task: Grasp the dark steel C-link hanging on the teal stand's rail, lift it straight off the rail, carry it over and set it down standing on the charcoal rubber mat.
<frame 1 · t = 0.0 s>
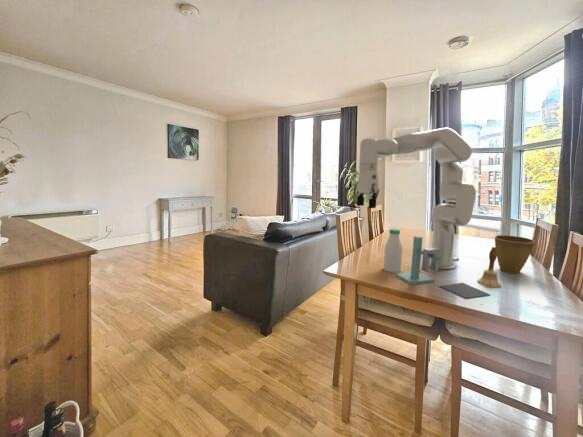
hand: (366, 206, 123), 31 cm above the table, tool pointing down, fingers open, 9 cm apart
link: (429, 270, 113), point 7 cm above the table, touching stand
stand: (414, 278, 122), on the table
hand bell: (489, 284, 117), on the table
mat: (464, 290, 109), on the table
plant pot: (509, 271, 134), on the table
milk bottle: (391, 270, 132), on the table
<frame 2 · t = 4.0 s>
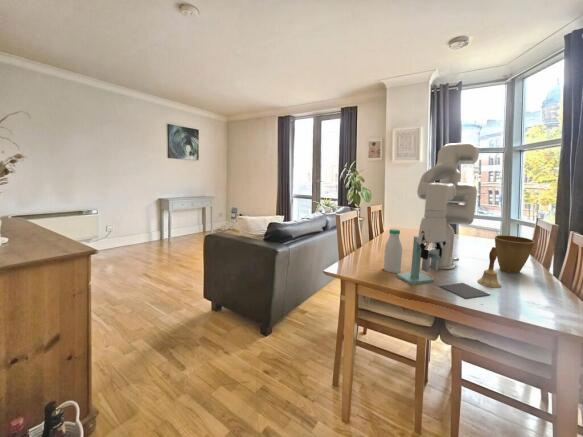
hand: (430, 257, 112), 12 cm above the table, tool pointing down, fingers closed on link, 6 cm apart
link: (429, 270, 113), point 7 cm above the table, touching gripper, stand
everything else where it was.
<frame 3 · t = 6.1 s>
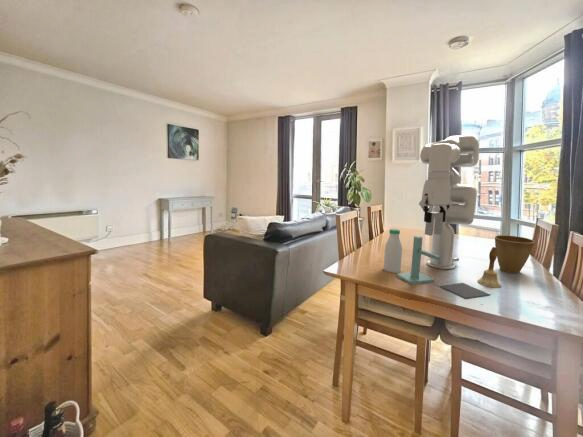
hand: (434, 221, 110), 27 cm above the table, tool pointing down, fingers closed on link, 6 cm apart
link: (433, 234, 111), point 22 cm above the table, touching gripper
everything else where it was.
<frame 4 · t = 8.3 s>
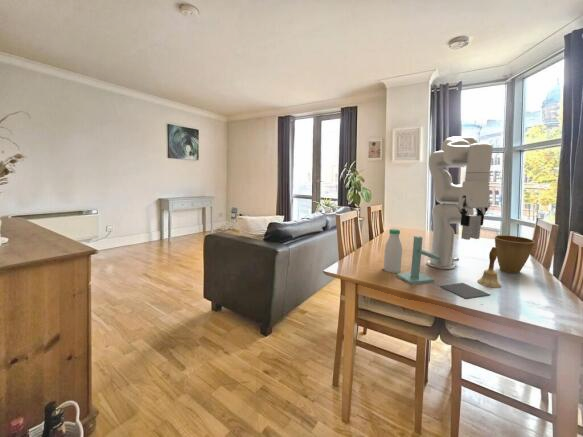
hand: (471, 224, 105), 27 cm above the table, tool pointing down, fingers closed on link, 6 cm apart
link: (470, 238, 106), point 21 cm above the table, touching gripper
everything else where it was.
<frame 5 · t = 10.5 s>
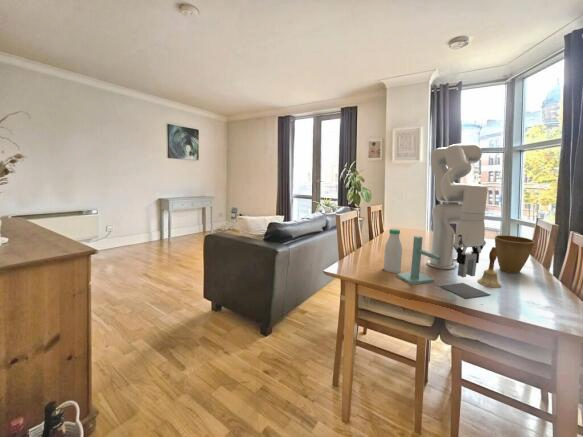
hand: (467, 262, 107), 12 cm above the table, tool pointing down, fingers closed on link, 6 cm apart
link: (466, 275, 108), point 6 cm above the table, touching gripper
everything else where it was.
when the fingers open (7 cm above the table, at t = 12.5 s): link drops 1 cm, resting on mat.
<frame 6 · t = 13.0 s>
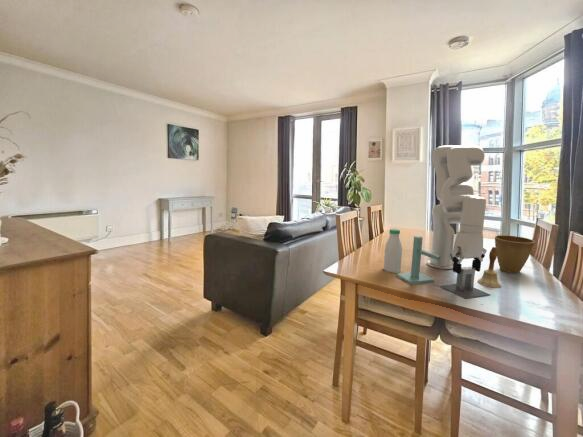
hand: (466, 271, 108), 8 cm above the table, tool pointing down, fingers open, 9 cm apart
link: (464, 289, 109), resting on mat
everything else where it was.
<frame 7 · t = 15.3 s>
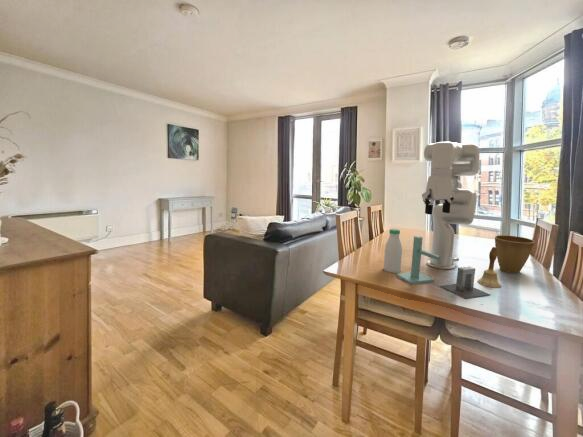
hand: (437, 213, 117), 29 cm above the table, tool pointing down, fingers open, 9 cm apart
nothing on the table moved.
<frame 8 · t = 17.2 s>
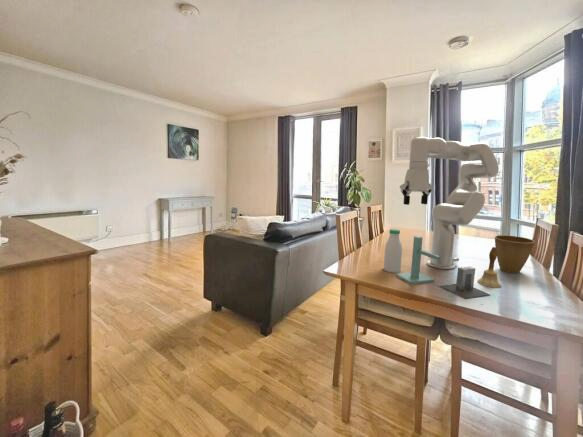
hand: (415, 204, 125), 32 cm above the table, tool pointing down, fingers open, 9 cm apart
nothing on the table moved.
at the end: link inside the target area on the mat (0.0 cm from its centre), point 0.4 cm above the mat's base; link touching mat; the gripper is holding nothing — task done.
